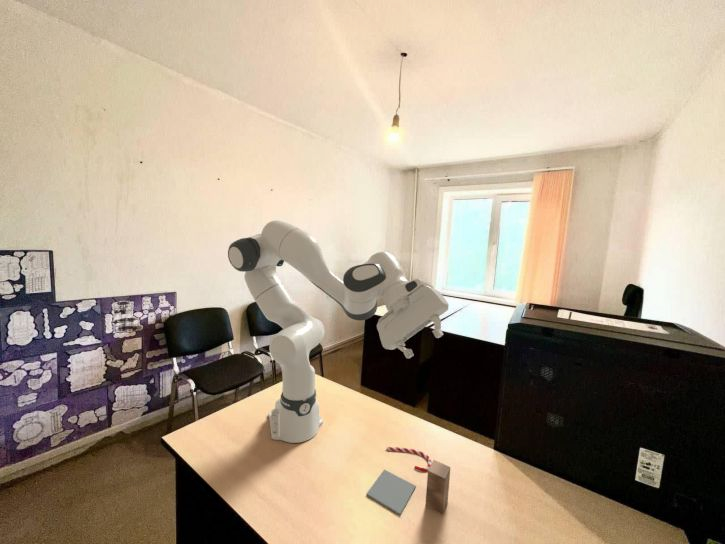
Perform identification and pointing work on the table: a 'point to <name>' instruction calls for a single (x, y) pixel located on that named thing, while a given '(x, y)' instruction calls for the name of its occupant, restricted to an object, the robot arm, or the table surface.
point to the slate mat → (391, 491)
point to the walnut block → (437, 486)
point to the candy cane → (413, 453)
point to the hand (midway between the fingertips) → (424, 346)
